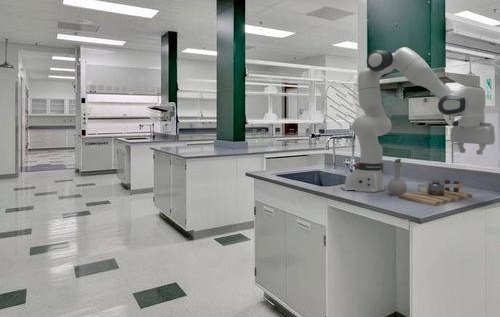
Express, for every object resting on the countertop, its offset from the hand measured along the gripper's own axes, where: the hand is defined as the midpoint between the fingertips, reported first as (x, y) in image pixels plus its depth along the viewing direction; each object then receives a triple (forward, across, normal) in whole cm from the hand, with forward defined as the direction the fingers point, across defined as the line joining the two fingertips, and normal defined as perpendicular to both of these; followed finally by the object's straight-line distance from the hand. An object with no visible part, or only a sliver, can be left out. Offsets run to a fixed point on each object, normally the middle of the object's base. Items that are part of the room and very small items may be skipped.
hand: (470, 153), depth 159 cm
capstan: (+20, +9, +7) cm, 23 cm away
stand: (+22, +10, +9) cm, 25 cm away
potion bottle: (+22, +21, +22) cm, 37 cm away
